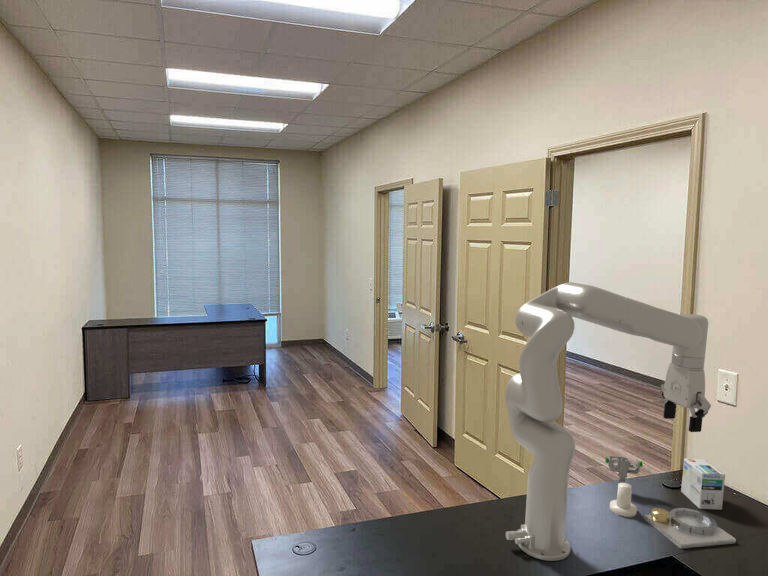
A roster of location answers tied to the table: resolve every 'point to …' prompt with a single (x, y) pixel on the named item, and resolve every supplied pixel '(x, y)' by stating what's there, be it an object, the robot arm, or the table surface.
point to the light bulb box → (703, 484)
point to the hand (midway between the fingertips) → (681, 424)
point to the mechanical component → (623, 466)
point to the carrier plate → (688, 527)
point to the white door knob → (623, 501)
